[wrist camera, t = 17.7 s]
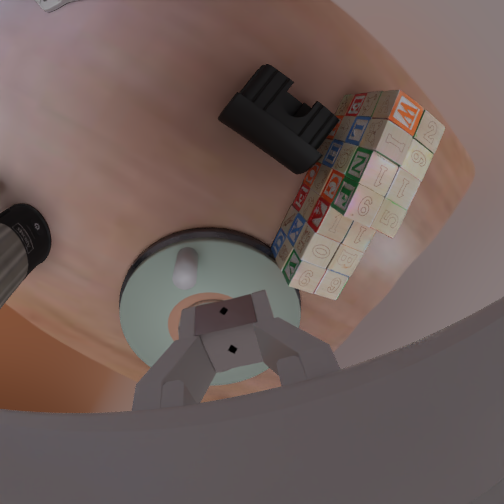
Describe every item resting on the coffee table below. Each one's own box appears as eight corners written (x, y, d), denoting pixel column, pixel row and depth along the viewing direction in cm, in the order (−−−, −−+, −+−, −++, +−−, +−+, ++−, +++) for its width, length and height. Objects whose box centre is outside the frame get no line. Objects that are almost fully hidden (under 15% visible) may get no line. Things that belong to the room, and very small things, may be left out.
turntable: (95, 260, 34) (76, 287, 28) (287, 218, 34) (303, 240, 29) (158, 386, 44) (154, 417, 38) (302, 361, 45) (313, 391, 39)
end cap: (216, 119, 30) (217, 119, 24) (254, 70, 28) (264, 58, 22) (287, 168, 34) (304, 180, 28) (323, 122, 32) (347, 124, 26)
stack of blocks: (310, 262, 40) (345, 318, 29) (269, 247, 38) (292, 303, 27) (383, 118, 32) (448, 127, 21) (343, 93, 31) (402, 88, 20)
